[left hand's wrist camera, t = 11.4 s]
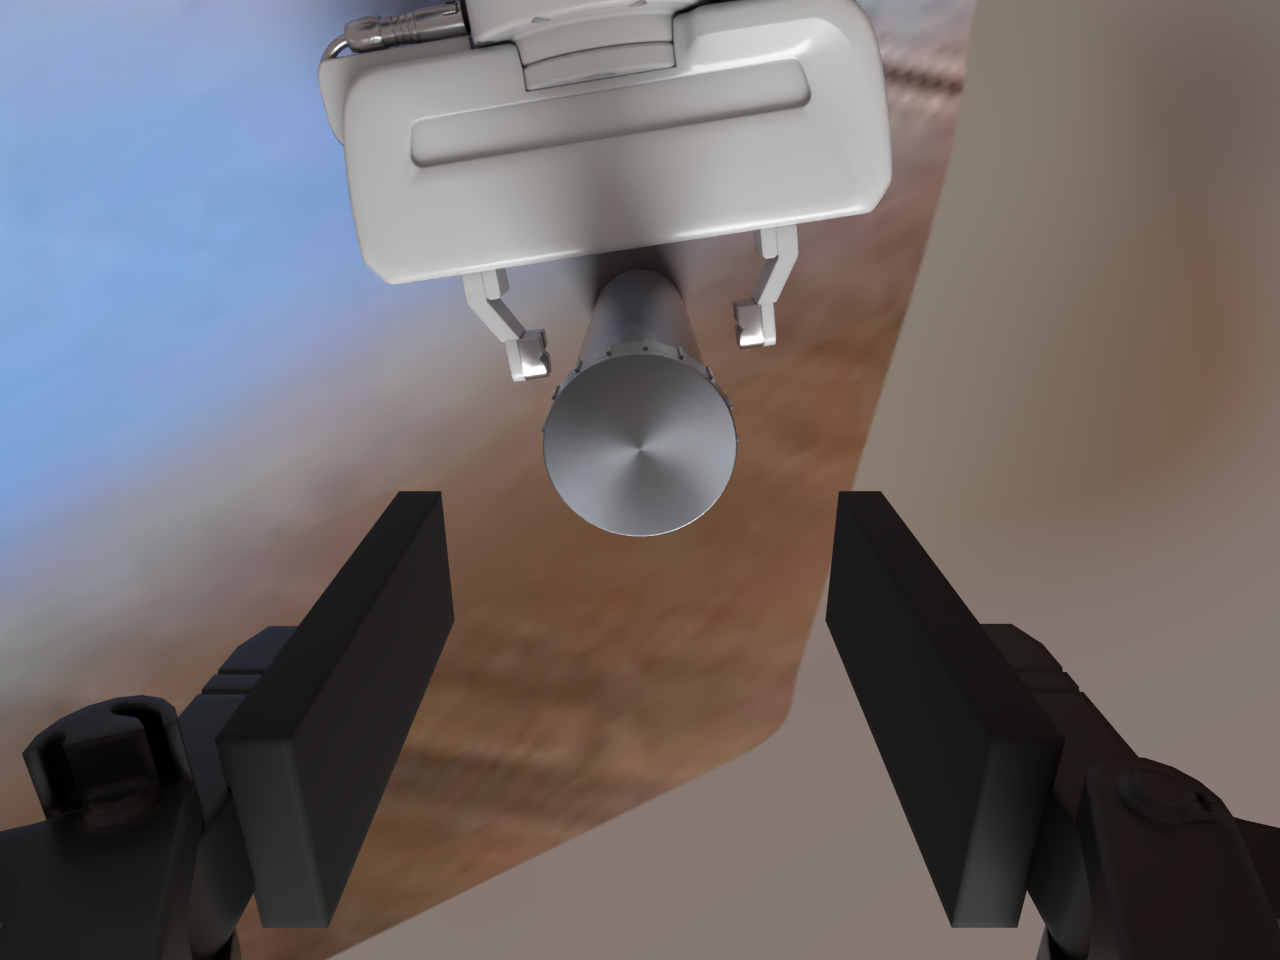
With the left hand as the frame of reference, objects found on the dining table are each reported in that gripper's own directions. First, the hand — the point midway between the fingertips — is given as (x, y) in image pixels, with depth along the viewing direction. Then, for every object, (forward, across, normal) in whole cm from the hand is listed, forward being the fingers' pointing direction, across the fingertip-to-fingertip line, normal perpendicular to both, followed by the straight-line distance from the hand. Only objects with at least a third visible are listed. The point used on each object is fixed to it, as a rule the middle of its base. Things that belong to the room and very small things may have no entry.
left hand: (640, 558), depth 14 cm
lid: (+6, 0, 0) cm, 6 cm away
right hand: (+19, 0, -1) cm, 19 cm away
